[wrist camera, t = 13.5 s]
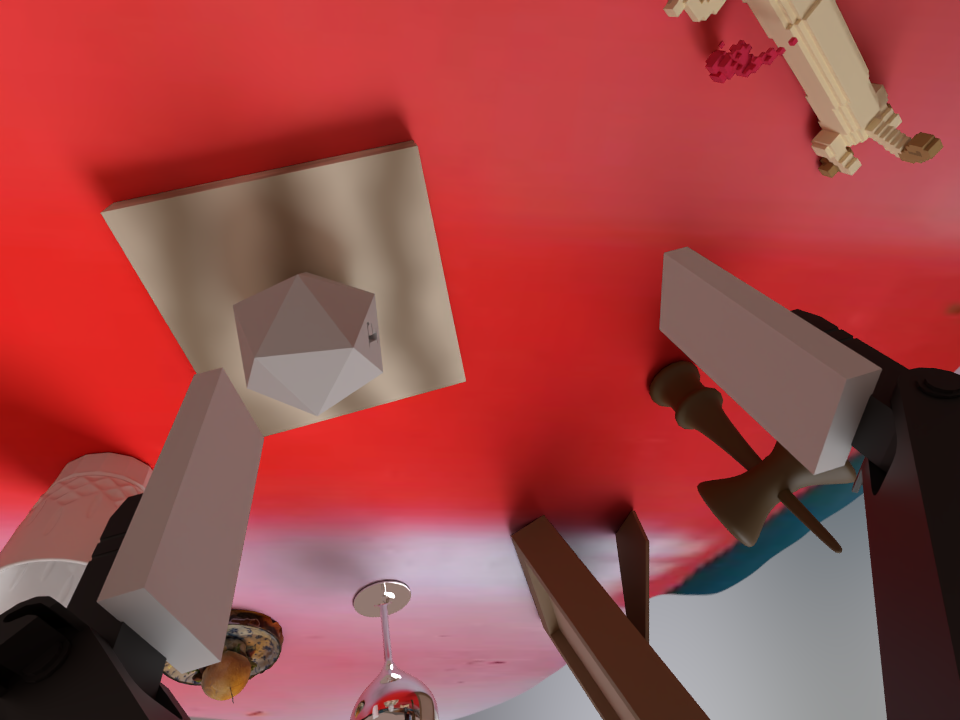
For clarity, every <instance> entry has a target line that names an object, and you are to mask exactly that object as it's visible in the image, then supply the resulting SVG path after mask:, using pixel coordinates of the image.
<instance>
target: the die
mask: <svg viewBox="0 0 960 720" xmlns="http://www.w3.org/2000/svg"><path fill="white" fill-rule="evenodd" d="M233 310H234V316H235V322H236V328H237V334H238V340H239V345H240V351H241V357H242V363H243V369H244V375H245V380H246V386H247V389H250V390H253V391H255V392H258V393H260V394H263V395H265V396H268V397H270V398H273V399H275V400H278V401H280V402H283V403H285V404H288V405H290V406H293V407H295V408H298V409H300V410H303V411H305V412H308V413H310V414H313V415H316V416H319V415H320V414H322V413H323V412H325V411H326V410H328V409H329V408H331V407H332V406H334V405H335V404H337V403H338V402H340V401H341V400H343V399H344V398H346V397H347V396H349V395H350V394H352V393H353V392H355V391H356V390H358V389H359V388H361V387H362V386H364V385H365V384H367V383H368V382H370V381H371V380H373V379H374V378H376V377H377V376H379V375H380V374H382V373H383V365H382V356H381V347H380V337H379V328H378V319H377V310H376V300H375V294H374V293H371V292H368V291H365V290H362V289H358V288H355V287H352V286H349V285H346V284H343V283H340V282H337V281H333V280H330V279H327V278H324V277H321V276H318V275H315V274H311V273H308V272H304V273H300V274H297V275H295V276H293V277H291V278H289V279H287V280H284V281H282V282H280V283H278V284H276V285H274V286H272V287H270V288H268V289H265V290H263V291H261V292H259V293H257V294H255V295H253V296H251V297H249V298H246V299H244V300H242V301H240V302H238V303H236V304H234V305H233Z"/></svg>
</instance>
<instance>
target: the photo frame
mask: <svg viewBox="0 0 960 720" xmlns="http://www.w3.org/2000/svg"><path fill="white" fill-rule="evenodd" d="M511 538H512V540H513V543H514V546H515V549H516V552H517V554H518V557H519V560H520V563H521V566H522V568H523V571H524V574H525V577H526V580H527V582H528V585H529V588H530V591H531V594H532V597H533V599H534V602H535V605H536V608H537V611H538V613H539V616H540V619H541V622H542V625H543V627H544V629H545V631H546V632H547V634H548V635H549V637H550V638H551V640H552V642H553V643H554V645H555V646H556V648H557V649H558V651H559V652H560V654H561V656H562V657H563V659H564V660H565V662H566V663H567V665H568V666H569V668H570V669H571V671H572V673H573V674H574V676H575V677H576V679H577V680H578V682H579V683H580V685H581V686H582V688H583V690H584V691H585V692H586V694H587V696H588V697H589V699H590V700H591V702H592V703H593V705H594V707H595V708H596V710H597V711H598V713H599V714H600V716H601V717H602V719H603V720H710V719H709V718H708V716H707V715H706V714H705V712H704V711H703V710H702V709H701V708H700V706H699V705H698V704H697V703H696V701H694V699H693V698H692V696H691V695H690V694H689V693H688V692H687V690H686V689H685V688H684V687H683V685H682V684H681V683H680V682H679V681H678V679H677V678H676V677H675V676H674V674H673V673H672V672H671V671H670V669H669V668H668V667H667V666H666V664H665V663H664V662H663V661H662V660H661V658H660V657H659V656H658V655H657V653H656V652H655V651H654V650H653V648H652V647H651V646H650V645H649V540H648V538H647V536H646V534H645V532H644V529H643V527H642V525H641V523H640V521H639V519H638V517H637V514H636V512H635V511H631V512H630V514H629V515H628V517H627V518H626V520H625V521H624V523H623V524H622V526H621V527H620V529H619V530H618V532H617V533H616V542H617V550H618V557H619V565H620V572H621V579H622V587H623V594H624V601H625V609H626V615H625V614H624V613H623V612H622V610H621V609H620V608H619V607H618V605H617V604H616V603H615V602H614V601H613V599H612V598H611V597H610V596H609V594H608V593H607V592H606V591H605V589H604V588H603V587H602V586H601V585H600V583H599V582H598V581H597V580H596V578H595V577H594V576H593V575H592V574H591V572H590V571H589V570H588V569H587V567H586V566H585V565H584V564H583V562H582V561H581V560H580V559H579V558H578V556H577V555H576V554H575V553H574V551H573V550H572V549H571V548H570V546H569V545H568V544H567V543H566V542H565V540H564V539H563V538H562V537H561V535H560V534H559V533H558V532H557V530H556V529H555V528H554V527H553V526H552V524H551V523H550V522H549V521H548V519H547V518H546V517H545V516H544V515H543V516H541V517H540V518H538V519H537V520H535V521H533V522H532V523H530V524H529V525H527V526H526V527H524V528H522V529H521V530H519V531H518V532H516V533H515V534H513V535H512V536H511ZM626 616H627V617H626Z"/></svg>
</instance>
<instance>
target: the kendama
mask: <svg viewBox="0 0 960 720" xmlns="http://www.w3.org/2000/svg"><path fill="white" fill-rule="evenodd" d="M649 394H650V396H651V398H652V400H653V401H654V402H655V403H657V404H658V405H660V406H665V407H672V409H673V410H674V411H675V419H676V421H677V423H678V425H679V426H681V427H682V428H684V429H696V430H698V431H700V432H701V433H703V434H704V435H705V436H707V437H708V438H709V439H711V440H712V441H713V442H714V443H716V444H717V445H718V446H720V447H721V448H722V449H723V450H724V451H726V452H727V453H728V454H729V455H731V456H732V457H733V458H734V459H735V460H736V461H738V462H739V463H740V464H741V465H742V466H743V467H744V468H746V469H747V470H748V471H747V472H745V473H743V474H741V475H738V476H735V477H731V478H726V479H719V480H711V481H705V482H702V483H699V485H698V486H697V488H698V491H699V493H700V495H701V497H702V498H703V500H704V501H705V503H706V504H707V506H708V507H709V508H710V510H711V511H712V512H713V514H714V515H715V516H716V517H717V518H718V519H719V521H720V522H721V523H722V524H723V525H724V526H725V527H726V528H727V530H728V531H729V532H730V533H731V534H732V535H733V536H734V537H735V538H736V539H738V540H739V541H740V542H741V543H743V544H744V545H746V546H748V547H751V546H754V544H755V543H756V541H757V539H758V537H759V534H760V532H761V529H762V527H763V524H764V522H765V520H766V518H767V516H768V514H769V512H770V511H771V510H772V508H773V507H774V506H775V505H776V504H778V503H779V502H780V501H781V502H782V503H783V504H784V505H785V506H786V507H787V508H788V509H789V510H790V511H791V512H792V513H793V514H794V515H795V516H796V517H797V518H798V519H799V520H800V521H802V522H803V523H804V524H805V525H806V526H807V527H808V528H809V529H810V530H811V531H812V532H813V533H814V534H815V535H816V536H818V538H819V539H820V540H821V541H823V542H824V543H825V544H826V545H827V546H828V547H829V548H831V549H832V550H833V551H835V552H836V553H841V552H842V548H841V546H840V545H839V544H838V542H837V541H836V540H835V539H834V538H833V536H832V535H831V534H830V533H829V532H828V531H827V530H826V529H825V528H824V527H823V526H822V524H821V523H820V522H819V521H818V520H817V519H816V518H815V517H814V516H813V515H812V514H811V513H810V512H809V511H808V510H807V508H806V507H805V506H804V505H803V504H802V503H801V502H800V501H799V500H798V499H797V498H796V497H795V496H794V495H793V494H792V493H793V492H796V491H797V490H798V489H800V488H803V487H806V486H811V485H821V484H843V483H852V482H855V480H856V472H855V469H854V468H853V467H852V465H851V464H850V462H849V461H848V460H846V462H845V465H844V466H841V467H838V468H835V469H832V470H829V471H825V472H822V473H819V474H816V475H813V474H812V473H811V472H810V471H809V470H808V469H807V468H806V467H804V466H803V465H802V464H801V463H800V462H799V461H798V460H797V459H796V458H795V457H794V456H793V455H792V454H791V453H790V452H789V451H788V450H786V449H785V448H784V447H783V446H782V445H781V444H780V443H779V442H778V441H777V442H776V444H775V447H774V449H773V451H772V452H771V454H770V455H769V456H767V457H766V458H765V459H764V460H763V461H762V460H761V459H760V457H759V456H758V455H757V454H756V453H755V452H754V450H753V449H752V448H751V447H750V446H749V444H748V443H747V442H746V441H745V440H744V438H743V437H742V436H741V434H740V433H739V432H738V431H737V429H736V428H735V427H734V425H733V424H732V423H731V421H730V420H729V419H728V417H727V416H726V414H725V413H724V411H723V409H722V403H723V399H722V396H721V393H720V392H718V391H717V390H716V389H714V388H708V387H704V386H703V385H702V383H701V382H700V374H699V371H698V369H697V367H696V366H694V365H693V364H692V363H690V362H687V361H679V362H676V363H672V364H670V365H668V366H667V367H665V368H663V369H662V370H661V371H660V372H659V373H658V374H657V375H656V376H655V378H654V379H653V381H652V383H651V385H650V392H649Z"/></svg>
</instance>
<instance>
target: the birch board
mask: <svg viewBox="0 0 960 720" xmlns="http://www.w3.org/2000/svg"><path fill="white" fill-rule="evenodd" d="M101 214H102V216H103V218H104V219H105V221H106V223H107V224H108V226H109V228H110V229H111V231H112V233H113V234H114V236H115V238H116V239H117V241H118V243H119V244H120V246H121V248H122V249H123V251H124V253H125V254H126V256H127V258H128V259H129V261H130V263H131V264H132V266H133V268H134V269H135V271H136V273H137V274H138V276H139V278H140V279H141V281H142V283H143V284H144V286H145V288H146V289H147V291H148V293H149V294H150V296H151V298H152V299H153V301H154V303H155V304H156V306H157V308H158V310H159V311H160V313H161V315H162V316H163V318H164V320H165V321H166V323H167V325H168V326H169V328H170V330H171V331H172V333H173V335H174V336H175V338H176V340H177V341H178V343H179V345H180V346H181V348H182V350H183V351H184V353H185V355H186V356H187V358H188V360H189V361H190V363H191V365H192V366H193V368H194V370H195V371H196V373H197V374H199V373H203V372H207V371H211V370H215V369H219V368H222V367H223V369H224V370H225V372H226V374H227V376H228V377H229V379H230V381H231V382H232V384H233V386H234V388H235V389H236V391H237V393H238V394H239V396H240V398H241V399H242V401H243V403H244V405H245V406H246V408H247V410H248V411H249V413H250V415H251V417H252V418H253V420H254V422H255V423H256V425H257V427H258V429H259V430H260V432H261V434H262V435H263V437H265V436H269V435H272V434H276V433H280V432H283V431H287V430H290V429H294V428H298V427H301V426H305V425H309V424H312V423H316V422H320V421H323V420H327V419H331V418H334V417H338V416H342V415H345V414H349V413H352V412H356V411H360V410H363V409H367V408H371V407H374V406H378V405H382V404H385V403H389V402H393V401H396V400H400V399H404V398H407V397H411V396H414V395H418V394H422V393H425V392H429V391H433V390H436V389H440V388H444V387H447V386H451V385H455V384H458V383H462V382H466V379H465V375H464V370H463V365H462V360H461V355H460V350H459V345H458V341H457V336H456V331H455V326H454V321H453V316H452V311H451V307H450V302H449V297H448V292H447V287H446V282H445V277H444V273H443V268H442V263H441V258H440V253H439V248H438V243H437V239H436V234H435V229H434V224H433V219H432V214H431V209H430V205H429V200H428V195H427V190H426V185H425V180H424V175H423V171H422V166H421V161H420V156H419V151H418V146H417V145H416V143H415V142H414V141H413V140H411V141H406V142H402V143H397V144H392V145H387V146H383V147H378V148H373V149H368V150H363V151H359V152H354V153H349V154H344V155H340V156H335V157H330V158H325V159H320V160H316V161H311V162H306V163H301V164H297V165H292V166H287V167H282V168H277V169H273V170H268V171H263V172H258V173H253V174H249V175H244V176H239V177H234V178H230V179H225V180H220V181H215V182H210V183H206V184H201V185H196V186H191V187H187V188H182V189H177V190H172V191H167V192H163V193H158V194H153V195H148V196H144V197H139V198H134V199H129V200H124V201H120V202H115V203H113V204H111V205H110V206H109V207H107V208H106V209H105V210H103V211H102V212H101ZM304 272H308V273H311V274H315V275H318V276H321V277H324V278H327V279H330V280H333V281H337V282H340V283H343V284H346V285H349V286H352V287H355V288H358V289H362V290H365V291H368V292H371V293H374V294H375V300H376V310H377V319H378V328H379V337H380V347H381V356H382V365H383V373H382V374H380V375H379V376H377V377H376V378H374V379H373V380H371V381H370V382H368V383H367V384H365V385H364V386H362V387H361V388H359V389H358V390H356V391H355V392H353V393H352V394H350V395H349V396H347V397H346V398H344V399H343V400H341V401H340V402H338V403H337V404H335V405H334V406H332V407H331V408H329V409H328V410H326V411H325V412H323V413H322V414H320V415H319V416H316V415H313V414H310V413H308V412H305V411H303V410H300V409H298V408H295V407H293V406H290V405H288V404H285V403H283V402H280V401H278V400H275V399H273V398H270V397H268V396H265V395H263V394H260V393H258V392H255V391H253V390H250V389H247V386H246V380H245V375H244V369H243V363H242V357H241V351H240V345H239V340H238V334H237V328H236V322H235V316H234V310H233V305H234V304H236V303H238V302H240V301H242V300H244V299H246V298H249V297H251V296H253V295H255V294H257V293H259V292H261V291H263V290H265V289H268V288H270V287H272V286H274V285H276V284H278V283H280V282H282V281H284V280H287V279H289V278H291V277H293V276H295V275H297V274H300V273H304Z"/></svg>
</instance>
